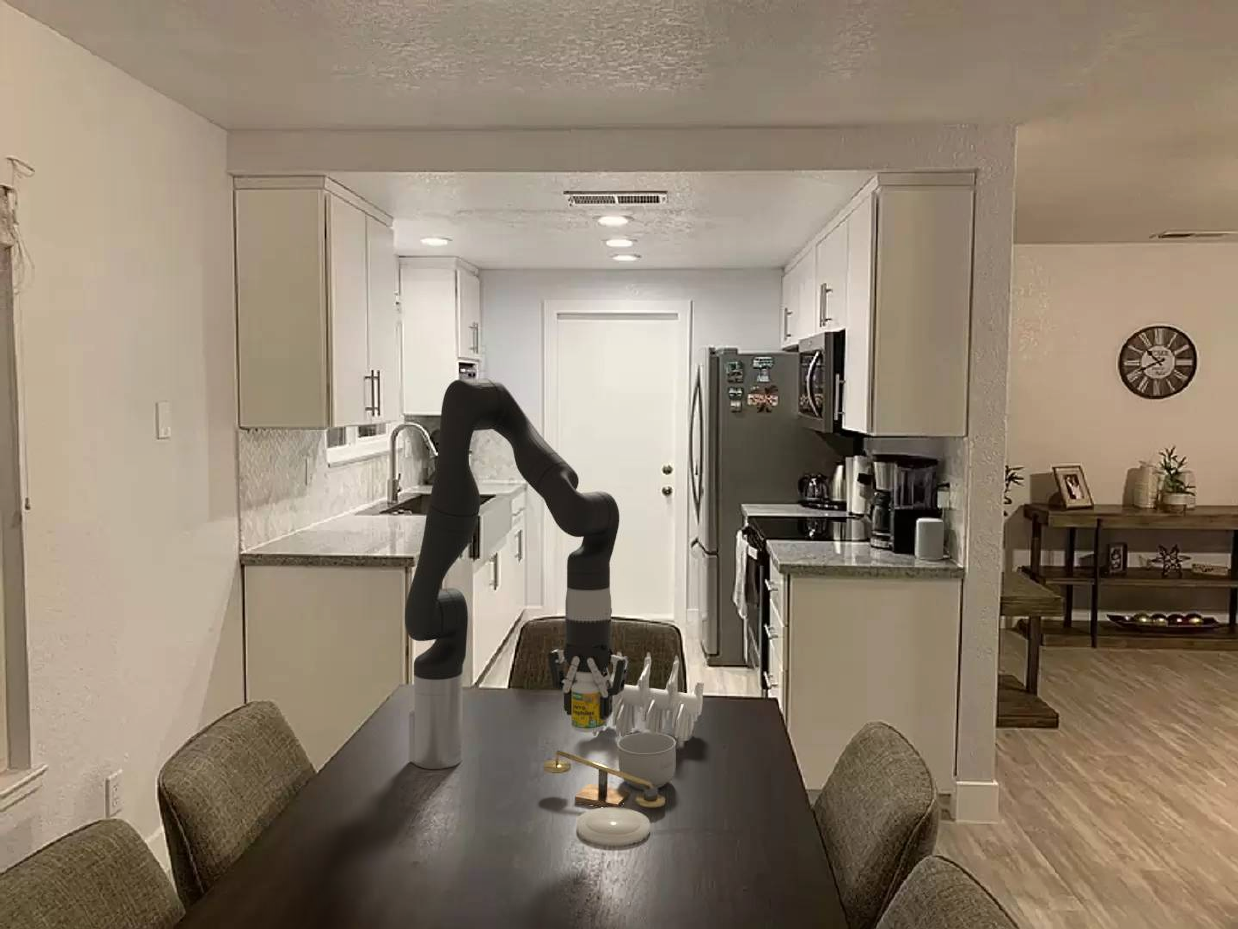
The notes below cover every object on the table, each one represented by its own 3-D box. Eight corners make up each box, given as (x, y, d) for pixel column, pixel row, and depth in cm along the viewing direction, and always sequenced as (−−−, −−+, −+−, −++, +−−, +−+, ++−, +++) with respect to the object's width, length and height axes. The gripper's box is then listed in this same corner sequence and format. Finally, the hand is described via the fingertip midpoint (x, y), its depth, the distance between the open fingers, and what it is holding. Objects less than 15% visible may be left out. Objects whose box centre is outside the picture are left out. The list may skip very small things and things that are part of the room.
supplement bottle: (608, 724, 166) (608, 667, 166) (597, 734, 161) (597, 676, 160) (578, 721, 168) (578, 665, 167) (566, 731, 163) (566, 673, 162)
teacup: (670, 798, 177) (671, 754, 177) (610, 792, 180) (611, 748, 179) (681, 769, 191) (682, 728, 190) (625, 763, 193) (626, 723, 193)
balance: (536, 796, 177) (537, 753, 176) (551, 783, 183) (551, 742, 182) (658, 818, 169) (659, 773, 168) (669, 805, 174) (670, 761, 174)
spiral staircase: (693, 769, 202) (574, 750, 207) (707, 708, 216) (595, 692, 222) (693, 701, 193) (568, 684, 198) (708, 643, 207) (591, 627, 213)
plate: (564, 838, 161) (564, 829, 161) (593, 809, 172) (593, 801, 172) (634, 852, 156) (634, 843, 156) (659, 821, 168) (659, 814, 168)
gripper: (538, 615, 163) (538, 717, 163) (620, 622, 157) (620, 728, 158) (558, 606, 169) (558, 705, 170) (637, 613, 164) (637, 715, 165)
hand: (588, 715), depth 164 cm, fingers closed on supplement bottle, 5 cm apart
